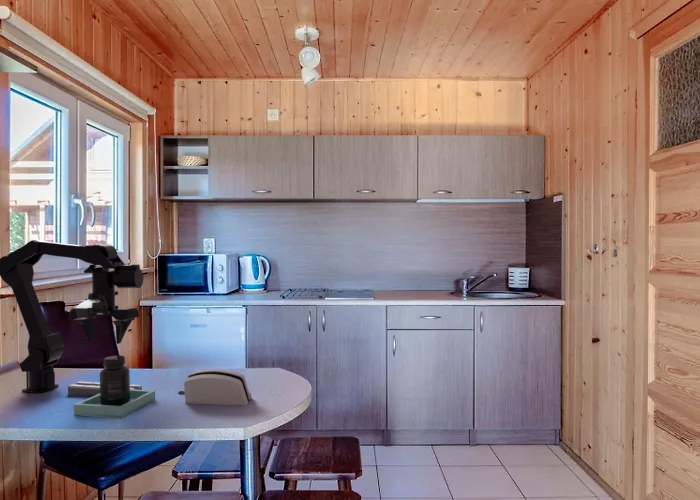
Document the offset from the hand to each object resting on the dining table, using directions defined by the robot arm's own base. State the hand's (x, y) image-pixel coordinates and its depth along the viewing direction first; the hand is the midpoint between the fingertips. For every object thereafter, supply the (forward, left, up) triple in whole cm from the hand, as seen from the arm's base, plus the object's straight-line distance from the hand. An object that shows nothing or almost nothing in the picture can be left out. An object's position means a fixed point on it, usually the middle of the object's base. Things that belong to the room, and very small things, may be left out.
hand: (104, 343), depth 132 cm
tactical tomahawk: (+27, +9, -14) cm, 32 cm away
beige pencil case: (+38, -5, -13) cm, 40 cm away
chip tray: (+14, -13, -13) cm, 23 cm away
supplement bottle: (+14, -13, -13) cm, 23 cm away
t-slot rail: (+4, -5, -13) cm, 14 cm away
